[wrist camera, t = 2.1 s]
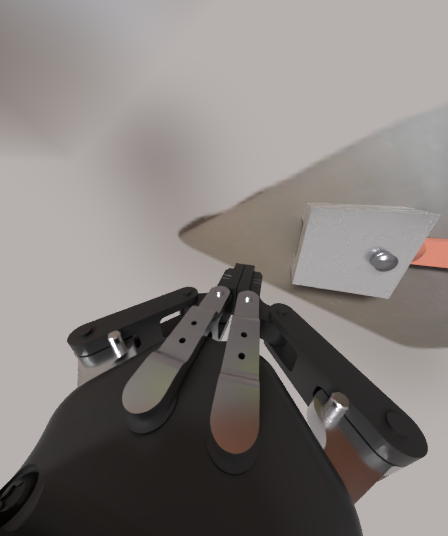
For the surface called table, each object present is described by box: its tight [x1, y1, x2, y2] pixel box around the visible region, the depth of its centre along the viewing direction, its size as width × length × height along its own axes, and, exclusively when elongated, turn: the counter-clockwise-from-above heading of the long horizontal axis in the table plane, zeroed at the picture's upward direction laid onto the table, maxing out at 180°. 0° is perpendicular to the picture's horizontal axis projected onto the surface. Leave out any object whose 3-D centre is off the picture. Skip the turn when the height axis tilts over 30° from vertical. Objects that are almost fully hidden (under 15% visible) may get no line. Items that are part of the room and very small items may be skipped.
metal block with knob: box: [290, 202, 440, 299], centre depth 19 cm, size 10×9×6 cm
